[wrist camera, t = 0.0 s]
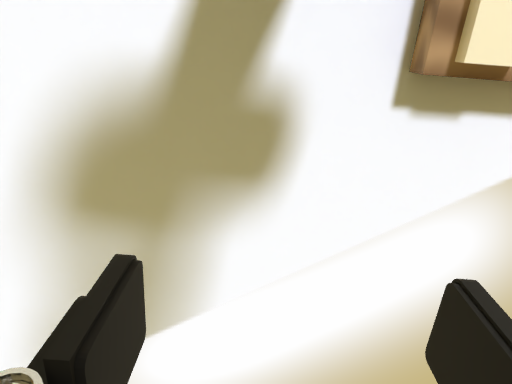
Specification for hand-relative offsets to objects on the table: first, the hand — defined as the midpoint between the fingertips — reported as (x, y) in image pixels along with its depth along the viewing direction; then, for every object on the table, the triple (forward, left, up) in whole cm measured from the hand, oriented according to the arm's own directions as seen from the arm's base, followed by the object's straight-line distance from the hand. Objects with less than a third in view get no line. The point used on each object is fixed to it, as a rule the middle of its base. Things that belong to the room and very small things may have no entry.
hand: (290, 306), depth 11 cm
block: (-11, +22, -32) cm, 40 cm away
